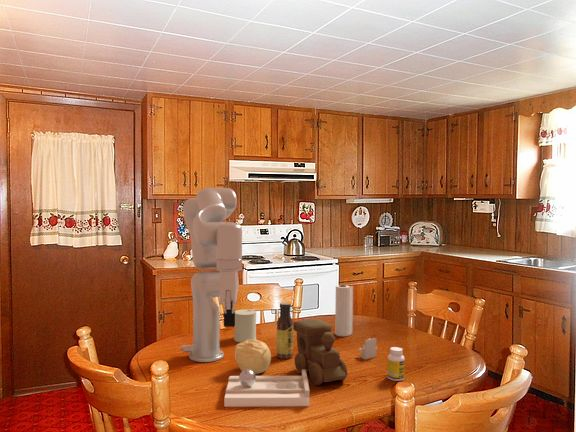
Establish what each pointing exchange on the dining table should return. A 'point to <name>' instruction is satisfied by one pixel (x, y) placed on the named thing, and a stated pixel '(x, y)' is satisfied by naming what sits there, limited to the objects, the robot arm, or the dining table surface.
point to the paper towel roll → (344, 310)
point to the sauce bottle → (284, 332)
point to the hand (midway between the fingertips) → (229, 325)
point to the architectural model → (369, 349)
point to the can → (245, 325)
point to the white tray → (268, 391)
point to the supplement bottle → (396, 364)
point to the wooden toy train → (318, 352)
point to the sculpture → (253, 356)
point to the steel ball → (247, 378)
